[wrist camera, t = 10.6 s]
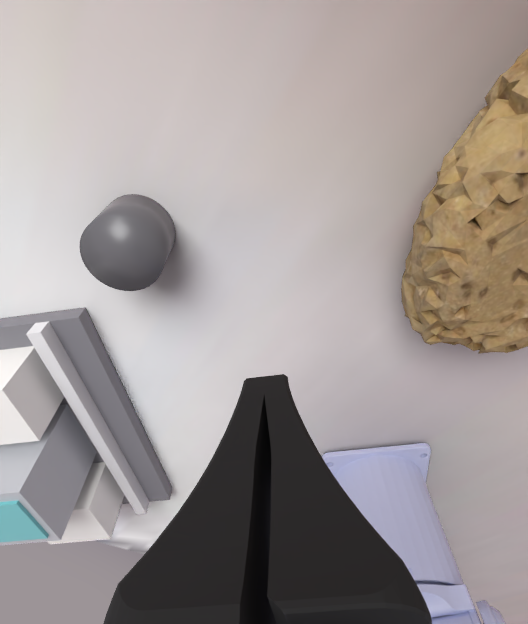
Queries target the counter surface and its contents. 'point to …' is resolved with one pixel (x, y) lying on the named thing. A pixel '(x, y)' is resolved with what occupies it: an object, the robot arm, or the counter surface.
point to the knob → (128, 243)
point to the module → (43, 481)
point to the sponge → (477, 231)
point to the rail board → (78, 414)
